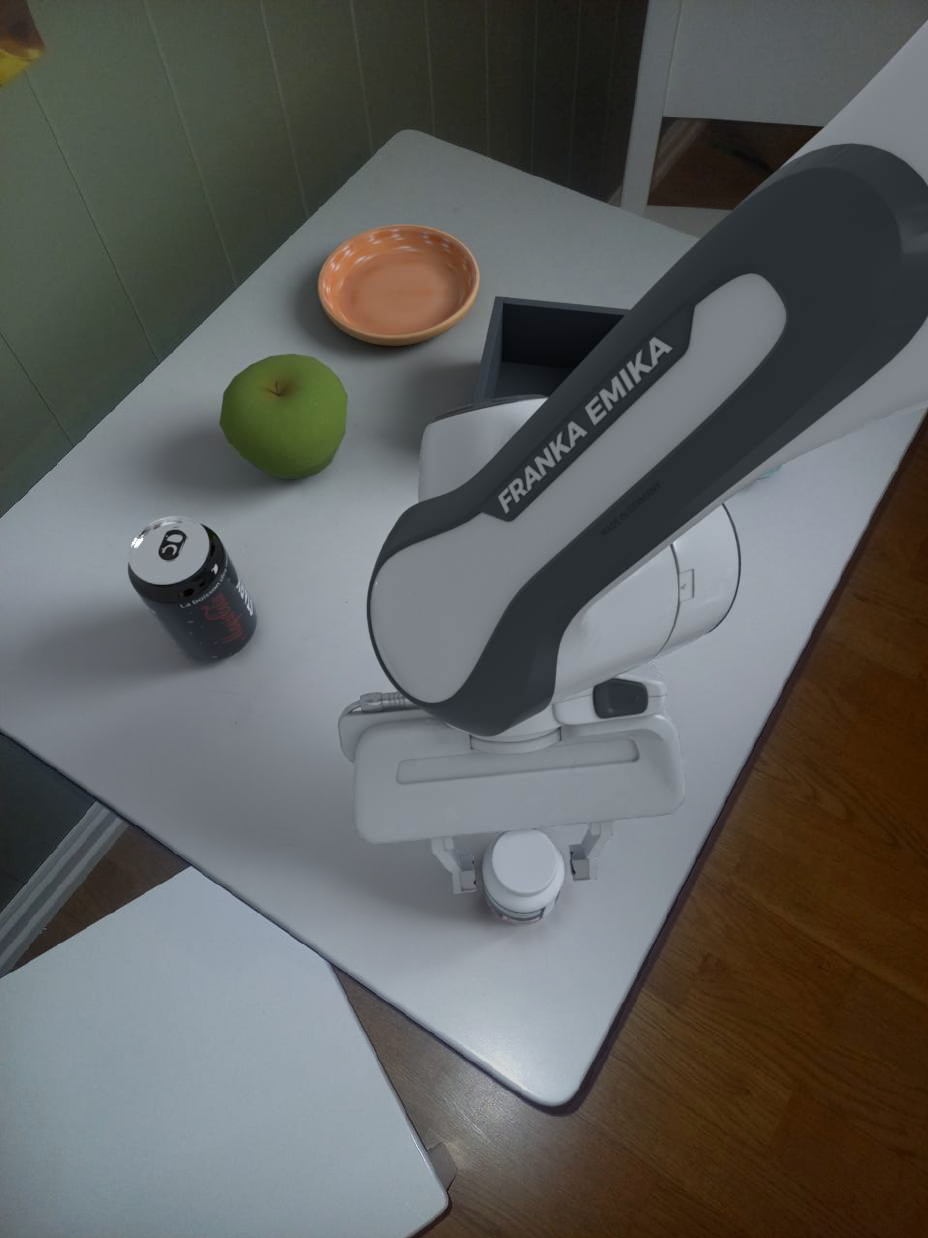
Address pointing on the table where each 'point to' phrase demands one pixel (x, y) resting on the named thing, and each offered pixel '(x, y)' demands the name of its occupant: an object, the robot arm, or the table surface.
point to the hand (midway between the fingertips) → (524, 881)
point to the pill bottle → (522, 875)
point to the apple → (285, 415)
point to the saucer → (398, 284)
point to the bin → (538, 345)
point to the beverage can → (192, 587)
